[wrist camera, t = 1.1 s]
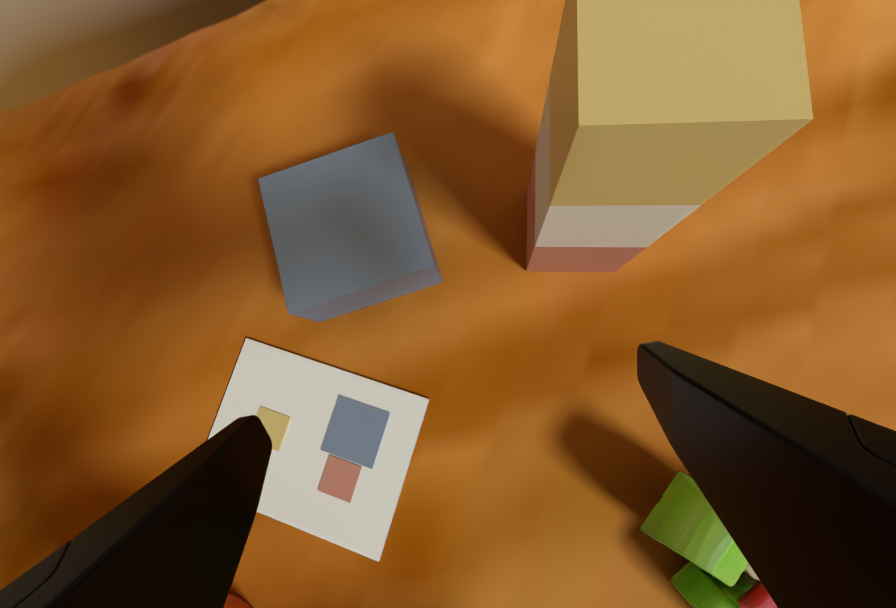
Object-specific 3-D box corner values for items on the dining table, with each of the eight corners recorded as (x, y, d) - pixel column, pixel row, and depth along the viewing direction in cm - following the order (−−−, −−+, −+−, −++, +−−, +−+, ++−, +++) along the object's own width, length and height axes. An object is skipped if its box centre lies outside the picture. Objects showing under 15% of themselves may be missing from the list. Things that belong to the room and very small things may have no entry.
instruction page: (429, 399, 22) (428, 399, 22) (379, 559, 21) (378, 562, 21) (247, 338, 24) (245, 338, 24) (193, 483, 23) (189, 484, 23)
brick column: (614, 272, 22) (813, 119, 8) (526, 271, 23) (578, 125, 9) (612, 190, 23) (790, -71, 9) (526, 191, 24) (576, -54, 10)
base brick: (443, 283, 24) (434, 266, 20) (321, 322, 24) (288, 313, 20) (408, 168, 25) (393, 131, 21) (293, 207, 26) (258, 178, 22)
